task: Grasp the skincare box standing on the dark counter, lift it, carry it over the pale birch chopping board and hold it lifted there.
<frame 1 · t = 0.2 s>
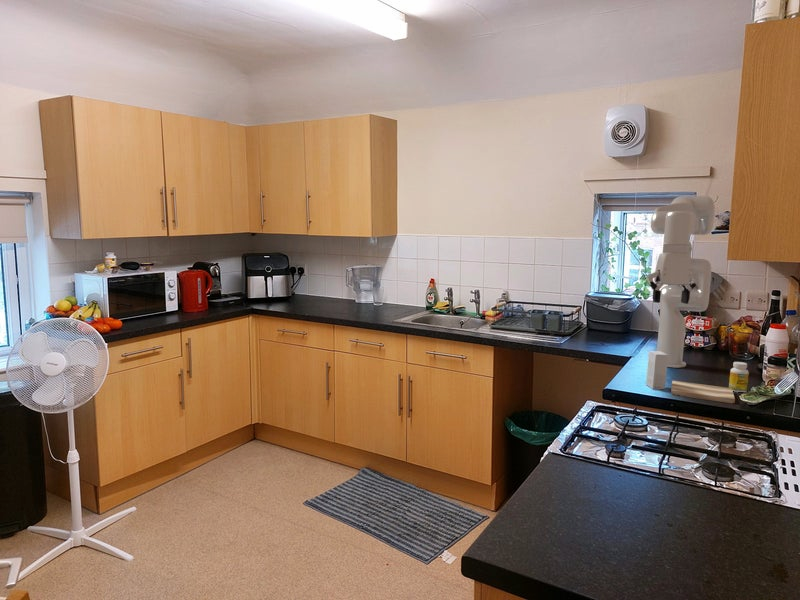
hand: (670, 302, 191), 29 cm above the counter, tool pointing down, fingers open, 9 cm apart
supplement bottle: (737, 391, 198), on the counter
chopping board: (701, 393, 193), on the counter
skincare box: (655, 387, 199), on the counter
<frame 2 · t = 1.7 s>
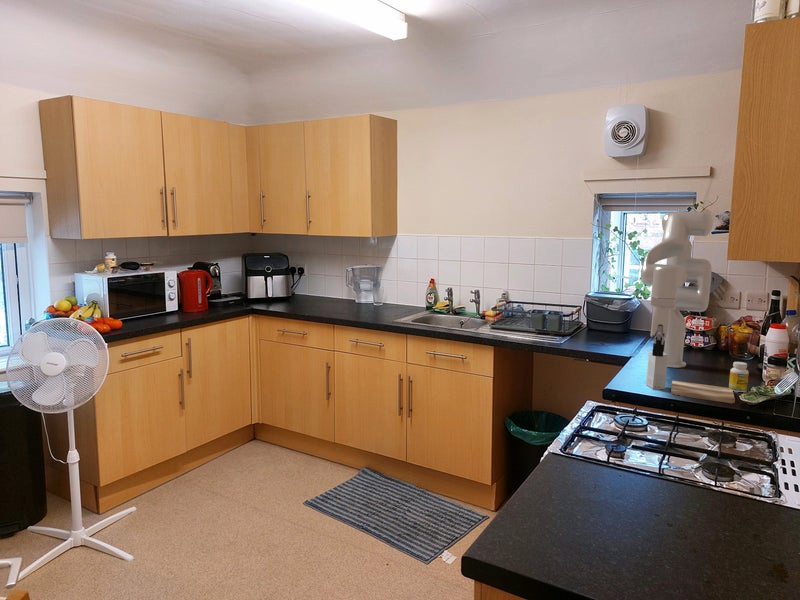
hand: (658, 353, 197), 12 cm above the counter, tool pointing down, fingers open, 9 cm apart
nothing on the counter moved.
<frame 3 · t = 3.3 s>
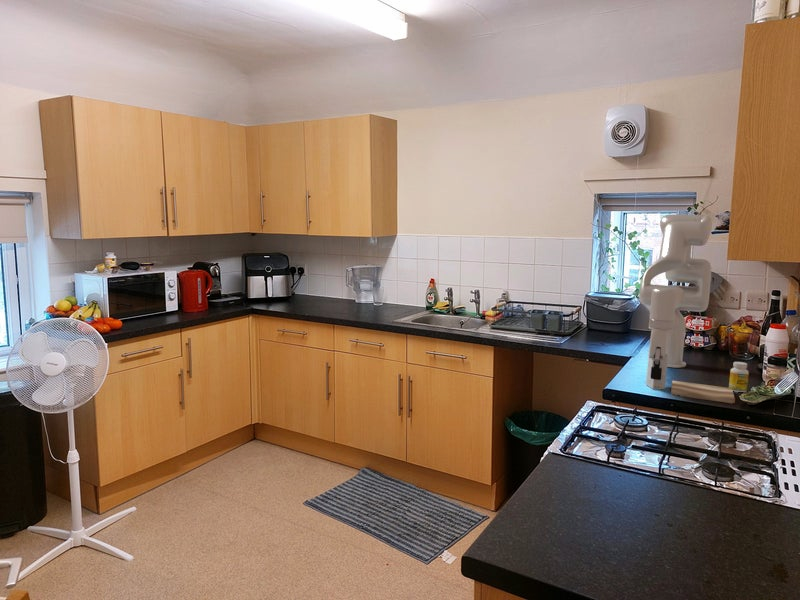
hand: (656, 376, 198), 4 cm above the counter, tool pointing down, fingers closed on skincare box, 7 cm apart
skincare box: (655, 387, 199), on the counter, touching gripper
everything else where it was.
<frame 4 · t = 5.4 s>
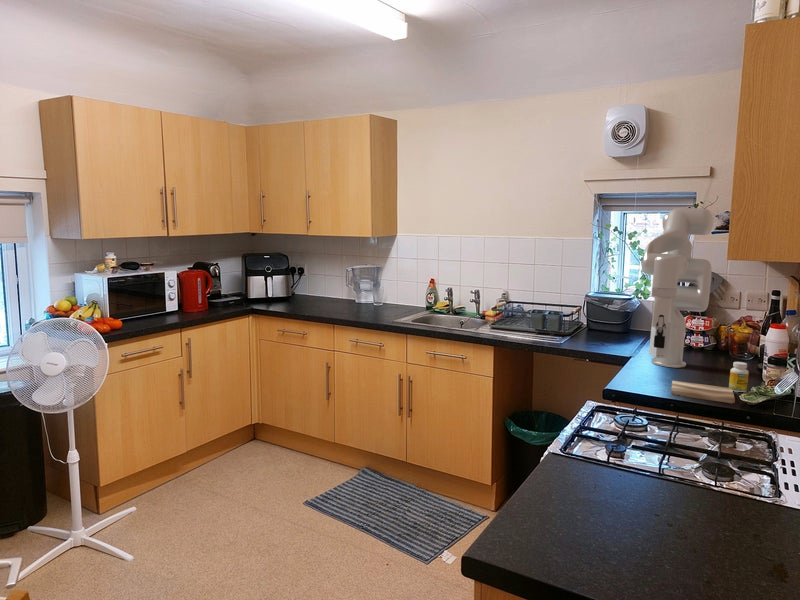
hand: (659, 345, 197), 14 cm above the counter, tool pointing down, fingers closed on skincare box, 7 cm apart
skincare box: (658, 356, 198), point 10 cm above the counter, touching gripper
everything else where it was.
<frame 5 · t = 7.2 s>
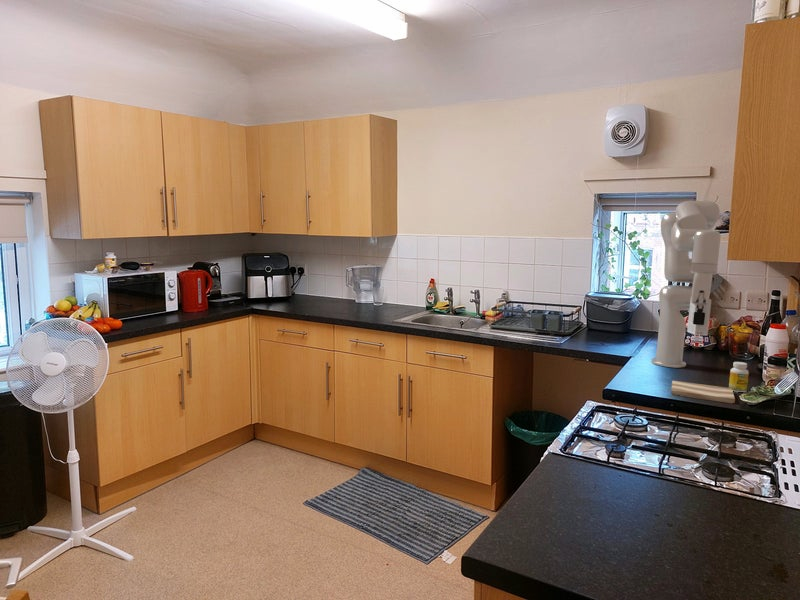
hand: (698, 322, 193), 23 cm above the counter, tool pointing down, fingers closed on skincare box, 7 cm apart
skincare box: (697, 334, 193), point 19 cm above the counter, touching gripper
everything else where it was.
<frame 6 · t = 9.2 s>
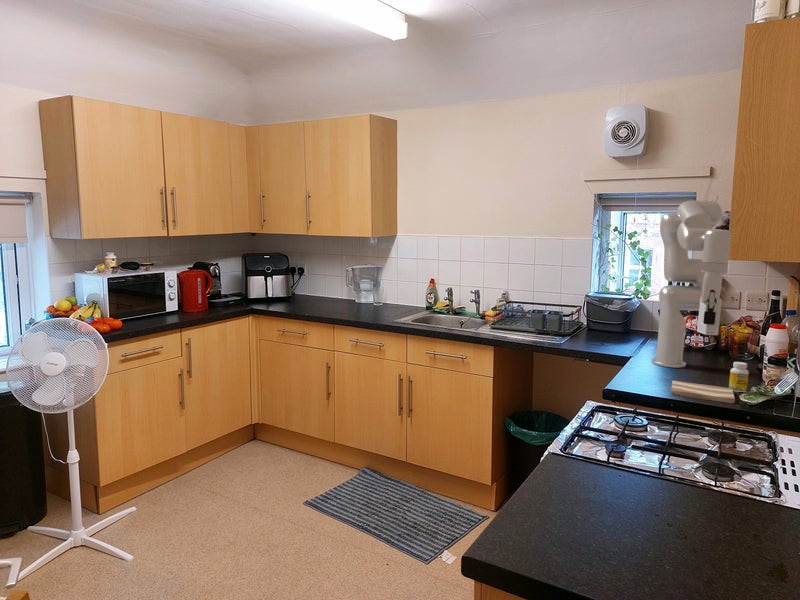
hand: (708, 322, 192), 24 cm above the counter, tool pointing down, fingers closed on skincare box, 7 cm apart
skincare box: (707, 334, 192), point 20 cm above the counter, touching gripper
everything else where it was.
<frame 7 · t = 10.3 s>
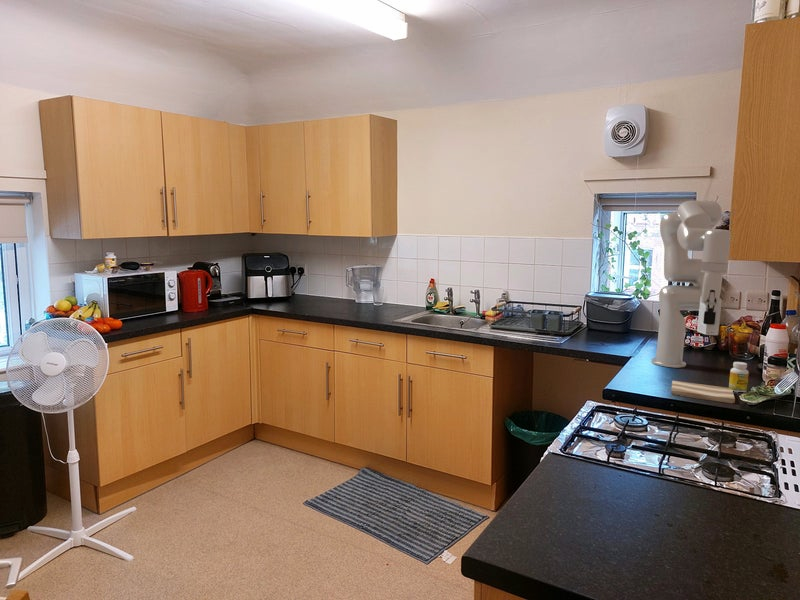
hand: (708, 322, 192), 24 cm above the counter, tool pointing down, fingers closed on skincare box, 7 cm apart
skincare box: (707, 334, 192), point 20 cm above the counter, touching gripper
everything else where it was.
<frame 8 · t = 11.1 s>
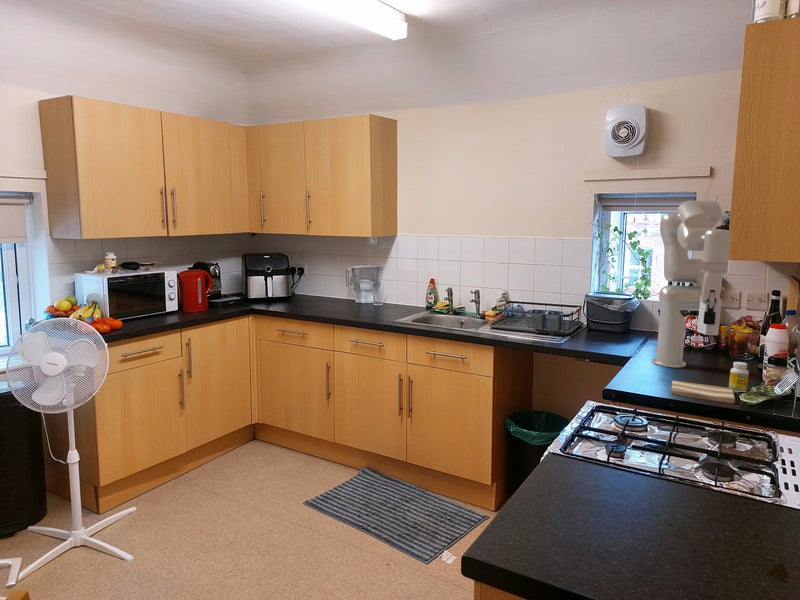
hand: (708, 322, 192), 24 cm above the counter, tool pointing down, fingers closed on skincare box, 7 cm apart
skincare box: (707, 334, 192), point 20 cm above the counter, touching gripper
everything else where it was.
at the end: the gripper is holding skincare box; skincare box point 19.5 cm above the counter; skincare box inside the target area on the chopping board (2.2 cm from its centre), point 19.5 cm above the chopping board's base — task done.
